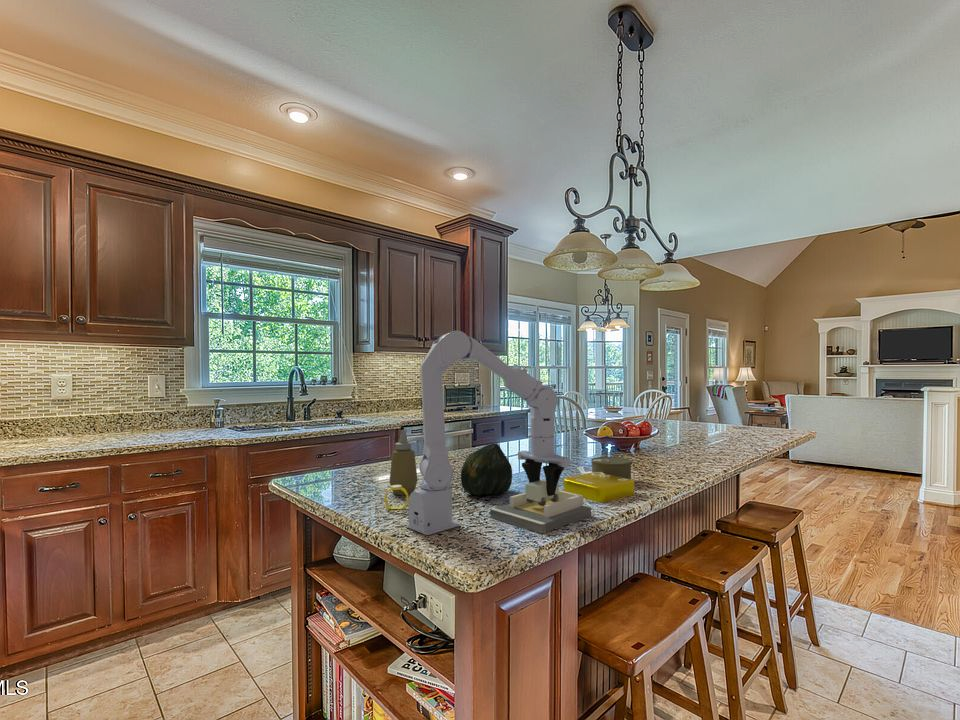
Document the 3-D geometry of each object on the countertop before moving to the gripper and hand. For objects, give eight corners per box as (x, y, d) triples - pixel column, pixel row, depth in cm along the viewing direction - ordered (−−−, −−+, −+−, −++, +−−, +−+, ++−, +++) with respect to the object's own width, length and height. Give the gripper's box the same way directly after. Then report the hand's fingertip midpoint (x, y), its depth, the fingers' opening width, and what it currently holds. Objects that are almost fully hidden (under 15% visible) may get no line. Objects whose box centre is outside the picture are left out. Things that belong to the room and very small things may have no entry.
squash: (444, 472, 137) (468, 437, 131) (482, 467, 147) (506, 434, 141) (468, 513, 129) (494, 477, 122) (506, 504, 139) (532, 471, 132)
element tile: (560, 493, 136) (560, 476, 136) (596, 485, 144) (596, 469, 144) (601, 505, 123) (601, 486, 123) (637, 495, 132) (637, 478, 132)
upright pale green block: (540, 507, 109) (539, 487, 109) (525, 503, 112) (525, 483, 112) (558, 501, 114) (558, 482, 114) (544, 497, 117) (544, 479, 117)
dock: (542, 534, 100) (542, 512, 101) (490, 517, 112) (490, 498, 112) (591, 515, 113) (590, 496, 113) (539, 502, 124) (539, 485, 125)
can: (636, 487, 140) (635, 463, 141) (595, 486, 141) (594, 463, 142) (626, 478, 152) (626, 456, 153) (589, 477, 153) (588, 456, 154)
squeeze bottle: (392, 489, 140) (392, 428, 141) (419, 489, 140) (419, 428, 140) (386, 496, 132) (386, 432, 133) (415, 496, 132) (414, 432, 132)
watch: (384, 512, 119) (382, 488, 119) (386, 508, 122) (384, 485, 122) (408, 509, 119) (406, 486, 119) (409, 506, 122) (407, 483, 122)
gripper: (577, 437, 111) (578, 495, 111) (530, 432, 122) (531, 485, 121) (558, 440, 106) (559, 501, 106) (511, 434, 117) (512, 490, 117)
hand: (543, 493), depth 113 cm, fingers closed on upright pale green block, 4 cm apart
